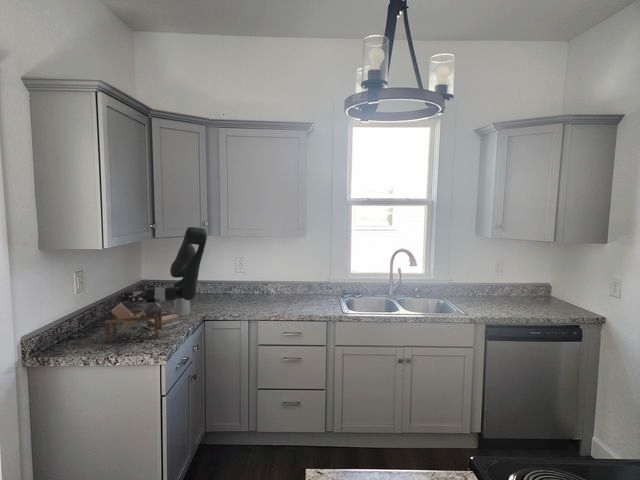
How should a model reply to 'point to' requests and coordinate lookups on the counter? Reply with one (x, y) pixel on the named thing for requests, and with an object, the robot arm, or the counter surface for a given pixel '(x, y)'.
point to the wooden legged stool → (156, 320)
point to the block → (122, 312)
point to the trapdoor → (145, 313)
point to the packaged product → (164, 321)
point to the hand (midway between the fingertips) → (122, 297)
